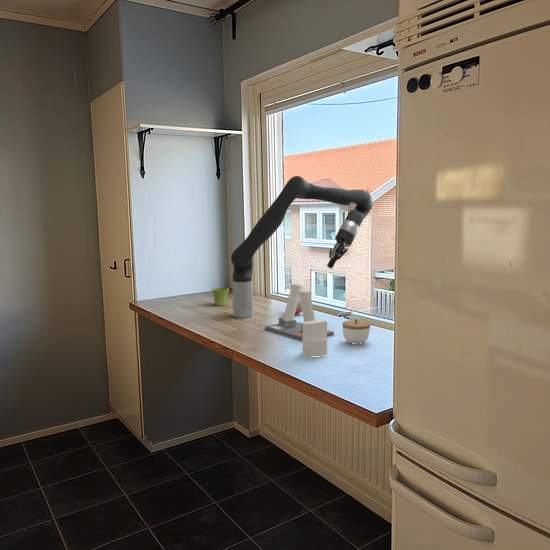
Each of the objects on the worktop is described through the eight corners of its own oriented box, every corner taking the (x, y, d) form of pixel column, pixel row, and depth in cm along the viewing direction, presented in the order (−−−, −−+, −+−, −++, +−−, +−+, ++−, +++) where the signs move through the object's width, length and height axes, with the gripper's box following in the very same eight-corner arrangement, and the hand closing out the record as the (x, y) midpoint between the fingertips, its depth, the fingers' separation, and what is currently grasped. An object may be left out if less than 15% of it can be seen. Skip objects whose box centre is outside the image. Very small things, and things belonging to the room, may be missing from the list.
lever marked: (313, 332, 215) (306, 292, 210) (304, 330, 219) (298, 290, 214) (317, 330, 216) (310, 290, 211) (308, 328, 220) (302, 289, 215)
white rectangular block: (309, 358, 187) (309, 325, 185) (298, 352, 195) (298, 320, 193) (331, 355, 190) (332, 323, 189) (319, 349, 199) (320, 318, 197)
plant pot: (220, 302, 287) (219, 287, 286) (233, 304, 282) (233, 288, 281) (208, 305, 280) (207, 289, 278) (221, 307, 274) (221, 291, 273)
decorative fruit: (306, 312, 261) (306, 292, 260) (305, 316, 253) (305, 295, 252) (287, 312, 262) (287, 292, 261) (285, 316, 254) (285, 295, 253)
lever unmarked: (288, 324, 226) (299, 285, 227) (281, 322, 230) (291, 283, 231) (292, 325, 227) (302, 286, 229) (284, 323, 231) (295, 285, 233)
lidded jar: (339, 344, 204) (339, 321, 203) (345, 337, 214) (346, 315, 213) (366, 347, 201) (367, 323, 199) (372, 340, 210) (372, 317, 209)
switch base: (305, 342, 208) (305, 331, 208) (264, 329, 228) (264, 319, 228) (333, 335, 218) (334, 324, 217) (292, 324, 238) (292, 314, 238)
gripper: (333, 230, 232) (315, 263, 228) (347, 226, 220) (329, 261, 216) (346, 239, 234) (329, 272, 231) (361, 235, 222) (343, 271, 218)
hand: (329, 267), depth 223 cm, fingers closed
